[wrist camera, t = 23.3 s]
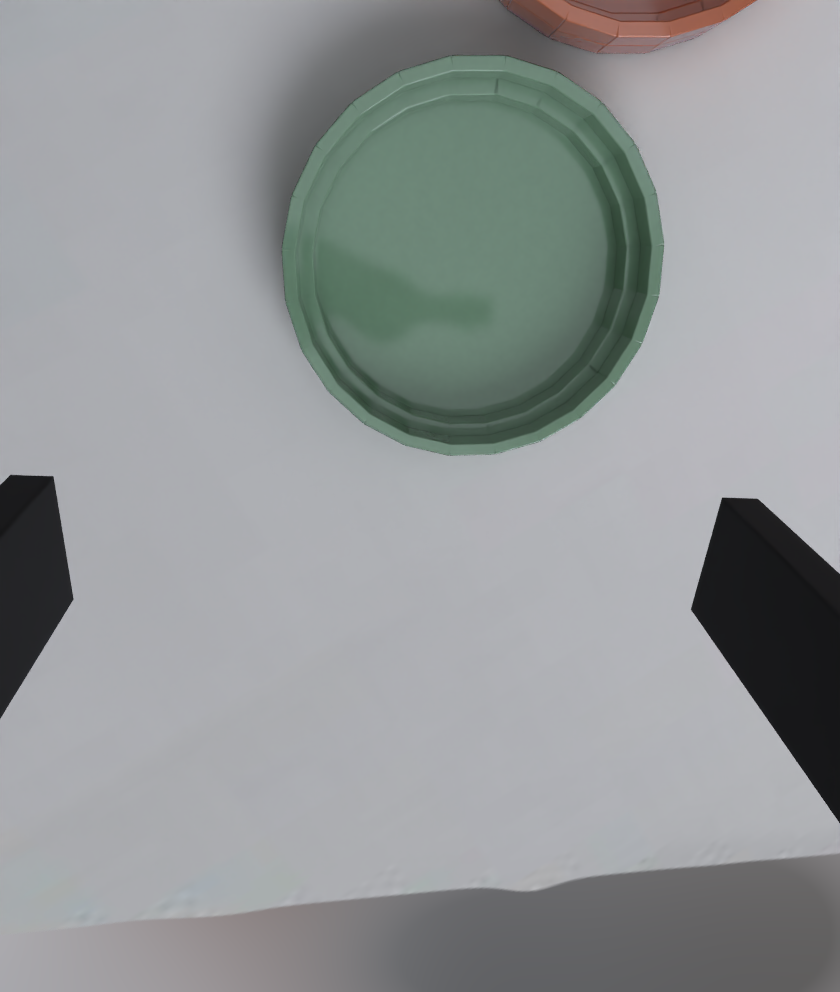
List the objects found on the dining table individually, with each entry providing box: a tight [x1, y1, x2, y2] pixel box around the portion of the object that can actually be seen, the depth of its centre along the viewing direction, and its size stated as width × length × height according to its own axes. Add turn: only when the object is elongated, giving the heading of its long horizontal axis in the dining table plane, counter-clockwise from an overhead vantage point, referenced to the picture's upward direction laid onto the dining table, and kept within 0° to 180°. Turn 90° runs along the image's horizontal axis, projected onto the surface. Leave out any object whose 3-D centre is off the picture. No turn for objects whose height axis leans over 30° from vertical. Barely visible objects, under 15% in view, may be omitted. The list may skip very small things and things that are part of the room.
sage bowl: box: [282, 55, 664, 456], centre depth 35 cm, size 17×17×3 cm
